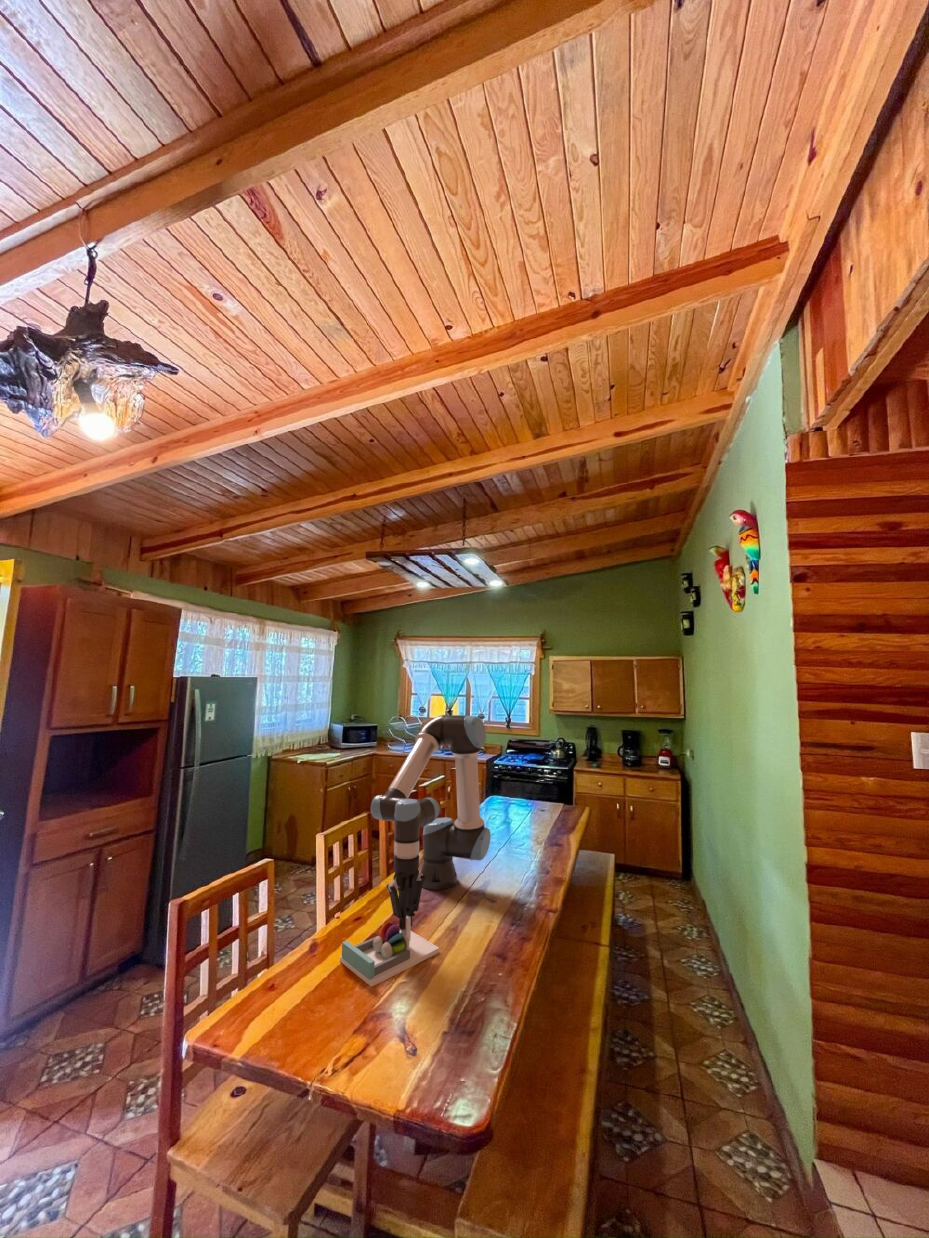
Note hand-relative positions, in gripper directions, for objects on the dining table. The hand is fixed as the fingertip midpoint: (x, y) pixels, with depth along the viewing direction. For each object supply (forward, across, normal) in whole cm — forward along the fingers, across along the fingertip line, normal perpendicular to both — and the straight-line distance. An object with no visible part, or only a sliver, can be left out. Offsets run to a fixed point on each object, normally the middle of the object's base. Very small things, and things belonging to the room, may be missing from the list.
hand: (405, 939), depth 142 cm
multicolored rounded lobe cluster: (+2, +5, 0) cm, 5 cm away
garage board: (+3, +5, 0) cm, 6 cm away
